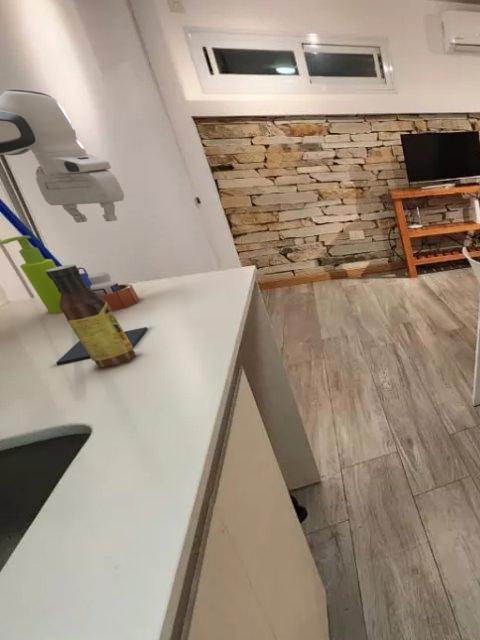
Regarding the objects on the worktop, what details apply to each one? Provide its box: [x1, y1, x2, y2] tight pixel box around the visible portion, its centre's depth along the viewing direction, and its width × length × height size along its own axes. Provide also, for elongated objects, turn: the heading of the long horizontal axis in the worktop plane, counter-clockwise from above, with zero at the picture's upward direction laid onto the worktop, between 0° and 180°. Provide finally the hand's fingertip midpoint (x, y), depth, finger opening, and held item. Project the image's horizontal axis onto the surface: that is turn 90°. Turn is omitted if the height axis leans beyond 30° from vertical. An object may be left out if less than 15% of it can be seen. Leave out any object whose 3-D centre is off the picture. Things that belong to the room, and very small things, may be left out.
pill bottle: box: [87, 271, 121, 295], centre depth 126 cm, size 5×5×9 cm
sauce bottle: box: [46, 263, 136, 368], centre depth 91 cm, size 6×6×20 cm
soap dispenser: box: [0, 235, 63, 314], centre depth 124 cm, size 6×7×20 cm
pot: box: [99, 283, 140, 312], centre depth 127 cm, size 10×10×4 cm
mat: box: [56, 326, 148, 366], centre depth 103 cm, size 12×12×1 cm
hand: (96, 221), depth 121 cm, fingers open, 8 cm apart
